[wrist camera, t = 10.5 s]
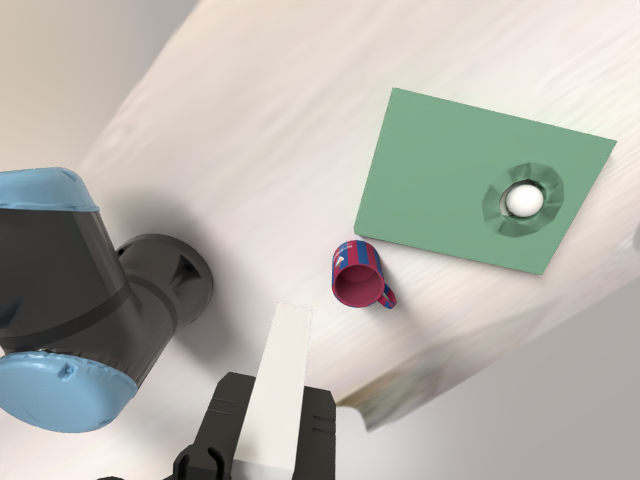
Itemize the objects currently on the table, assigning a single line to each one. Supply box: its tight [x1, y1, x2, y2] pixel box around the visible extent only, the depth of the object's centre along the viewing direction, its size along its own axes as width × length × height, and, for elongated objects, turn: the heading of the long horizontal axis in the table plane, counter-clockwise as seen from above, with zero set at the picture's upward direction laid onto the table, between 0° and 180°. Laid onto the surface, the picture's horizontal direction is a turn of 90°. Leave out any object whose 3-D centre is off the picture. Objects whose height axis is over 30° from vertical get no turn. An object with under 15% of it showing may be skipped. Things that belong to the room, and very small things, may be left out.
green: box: [354, 88, 617, 275], centre depth 43 cm, size 26×18×2 cm
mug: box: [332, 240, 396, 309], centre depth 47 cm, size 7×10×7 cm
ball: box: [506, 185, 543, 217], centre depth 43 cm, size 4×4×4 cm
